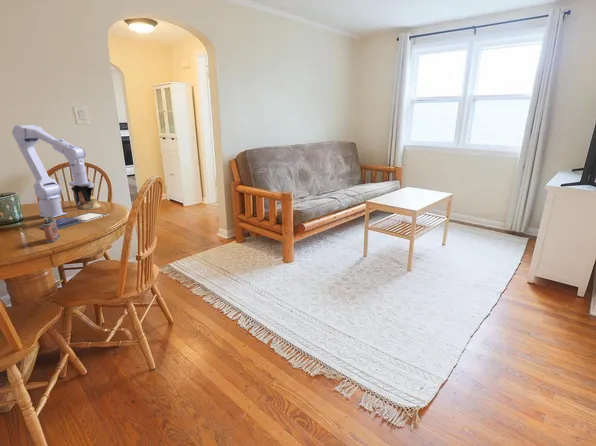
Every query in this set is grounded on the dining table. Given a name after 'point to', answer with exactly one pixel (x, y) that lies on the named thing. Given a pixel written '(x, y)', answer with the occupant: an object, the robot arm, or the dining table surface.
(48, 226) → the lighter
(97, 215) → the marked square
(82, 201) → the stamp
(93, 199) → the hand bell
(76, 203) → the supplement bottle
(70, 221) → the ink pad
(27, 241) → the dining table surface
